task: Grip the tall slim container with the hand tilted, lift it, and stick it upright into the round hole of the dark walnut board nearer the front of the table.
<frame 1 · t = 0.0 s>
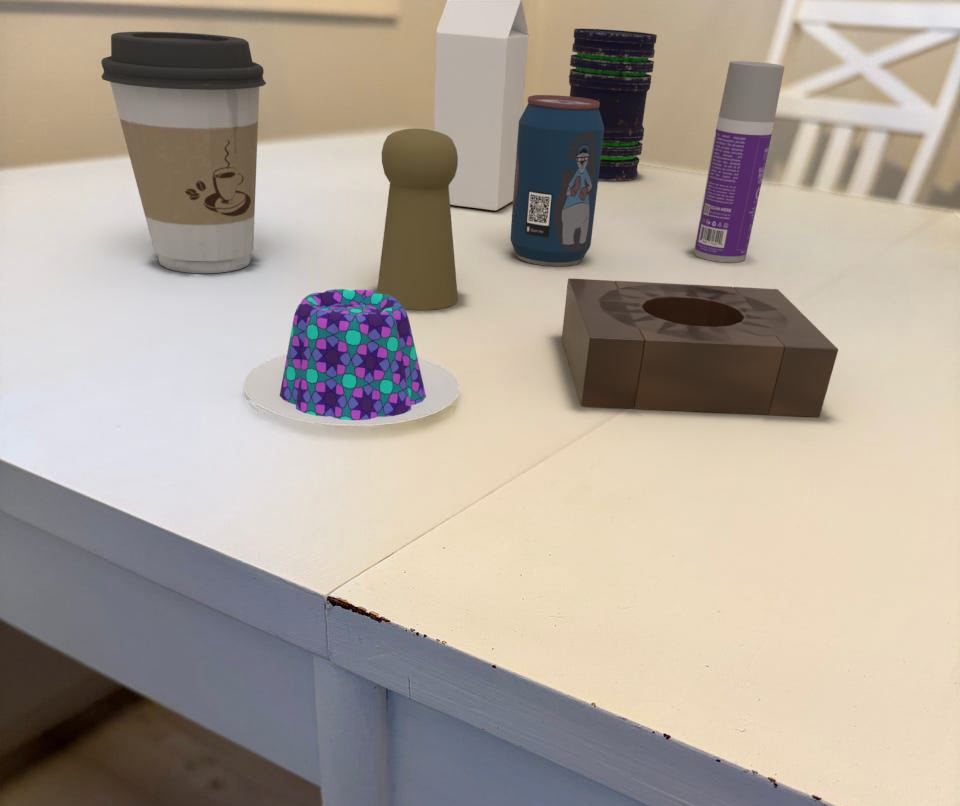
pudding: (353, 399, 53), on the table
milk carton: (474, 204, 99), on the table
socket board: (680, 375, 59), on the table
soda can: (548, 260, 81), on the table
black striped cylinder: (598, 175, 118), on the table
coffee cup: (205, 264, 74), on the table
cork: (417, 300, 70), on the table
container: (719, 258, 86), on the table
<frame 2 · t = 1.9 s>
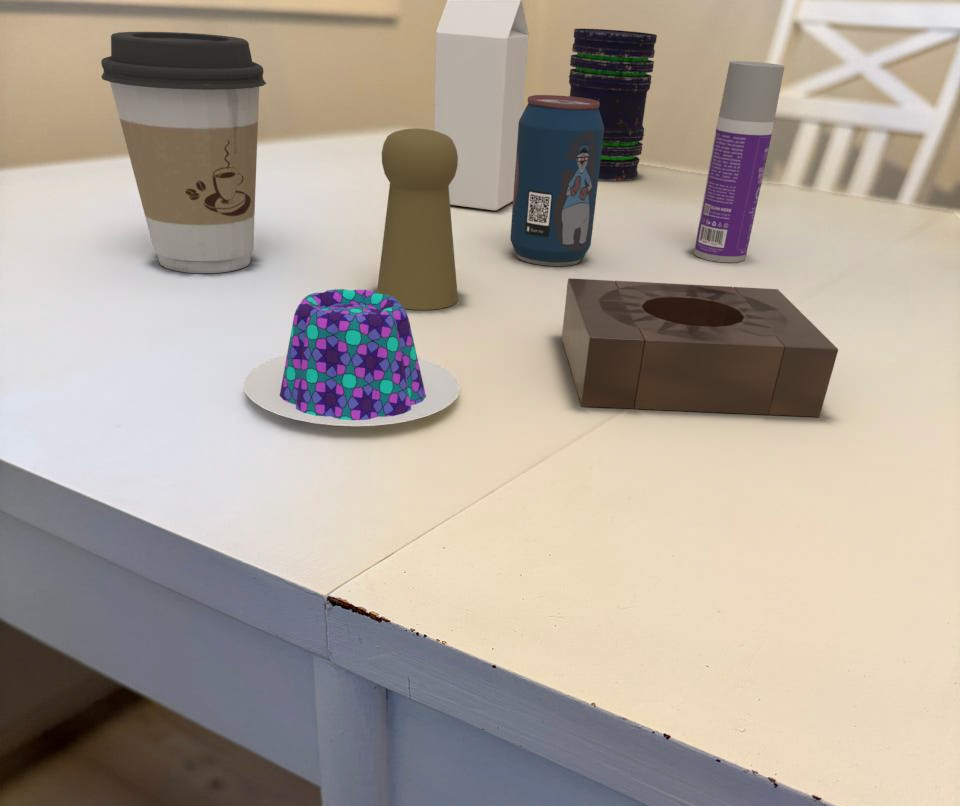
nothing on the table moved.
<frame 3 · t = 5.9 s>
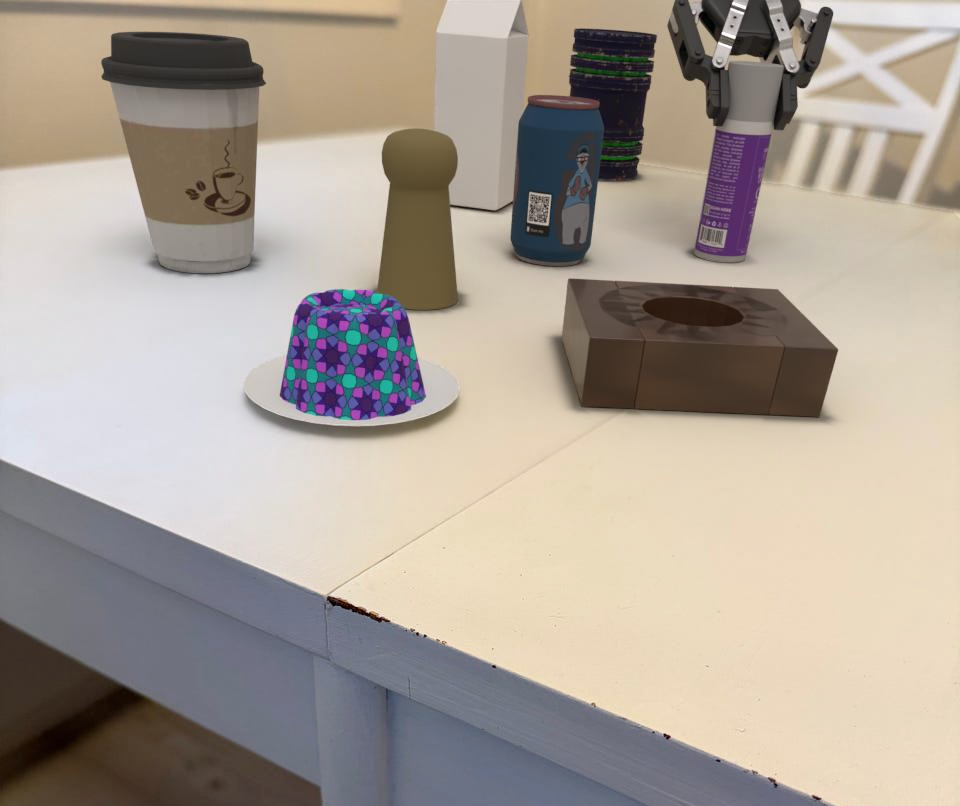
hand: (752, 120, 77), 11 cm above the table, tool tilted 45°, fingers closed on container, 4 cm apart
container: (719, 258, 86), on the table, touching gripper
everything else where it was.
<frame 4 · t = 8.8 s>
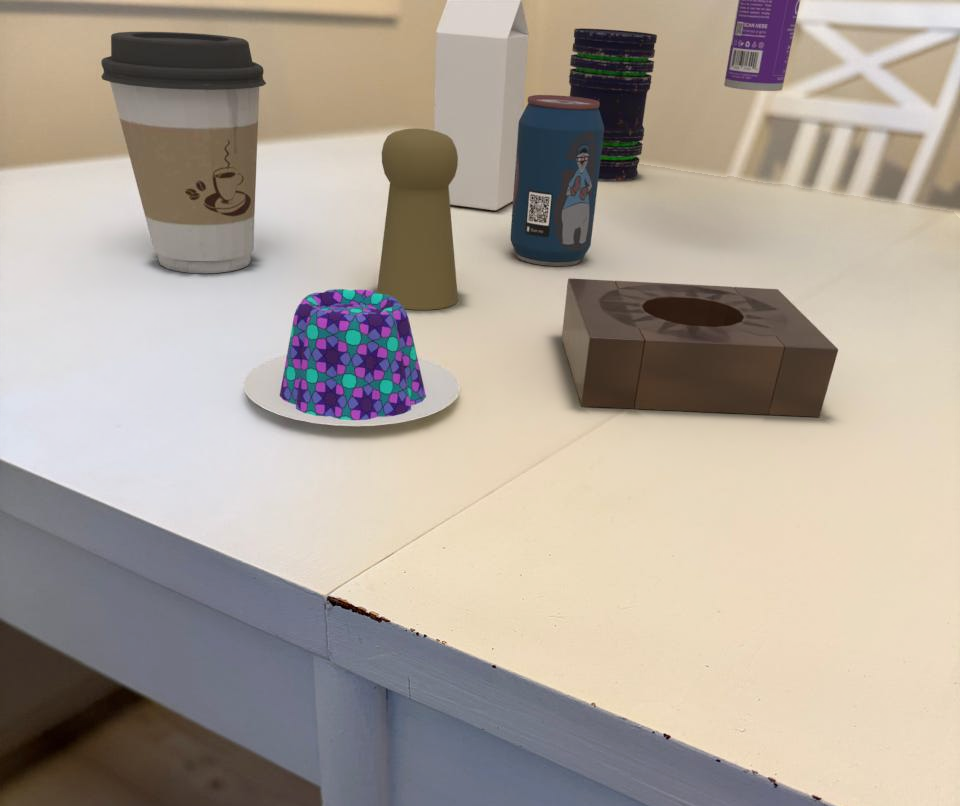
container: (752, 90, 77), point 13 cm above the table, touching gripper
everything else where it was.
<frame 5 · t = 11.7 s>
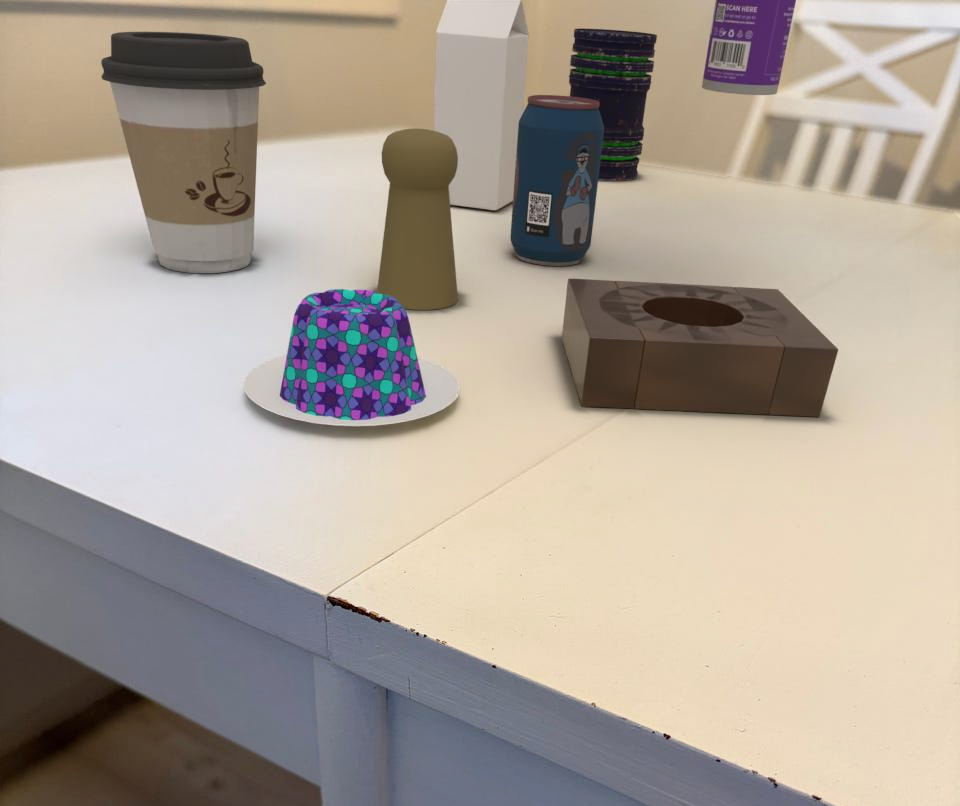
container: (738, 94, 59), point 15 cm above the table, touching gripper
everything else where it was.
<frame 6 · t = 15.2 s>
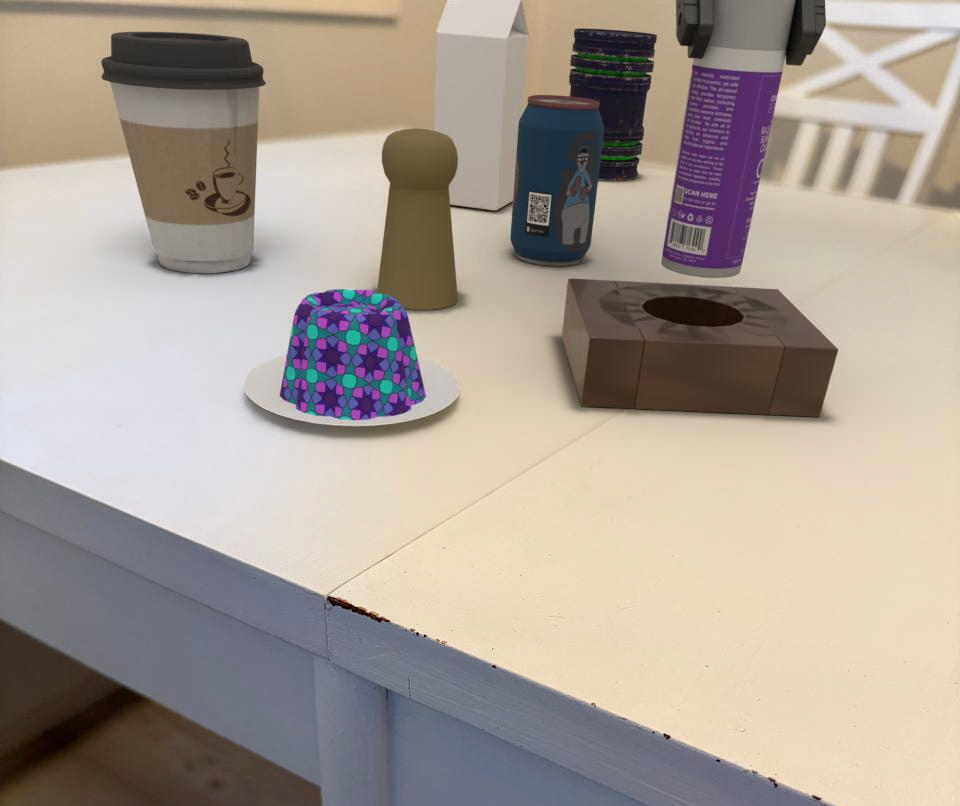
hand: (751, 48, 47), 18 cm above the table, tool tilted 45°, fingers closed on container, 4 cm apart
container: (699, 270, 55), point 6 cm above the table, touching gripper
everything else where it was.
when the fingers open (11 cm above the table, at t = 17.7 s): container stays where it is, resting in socket board.
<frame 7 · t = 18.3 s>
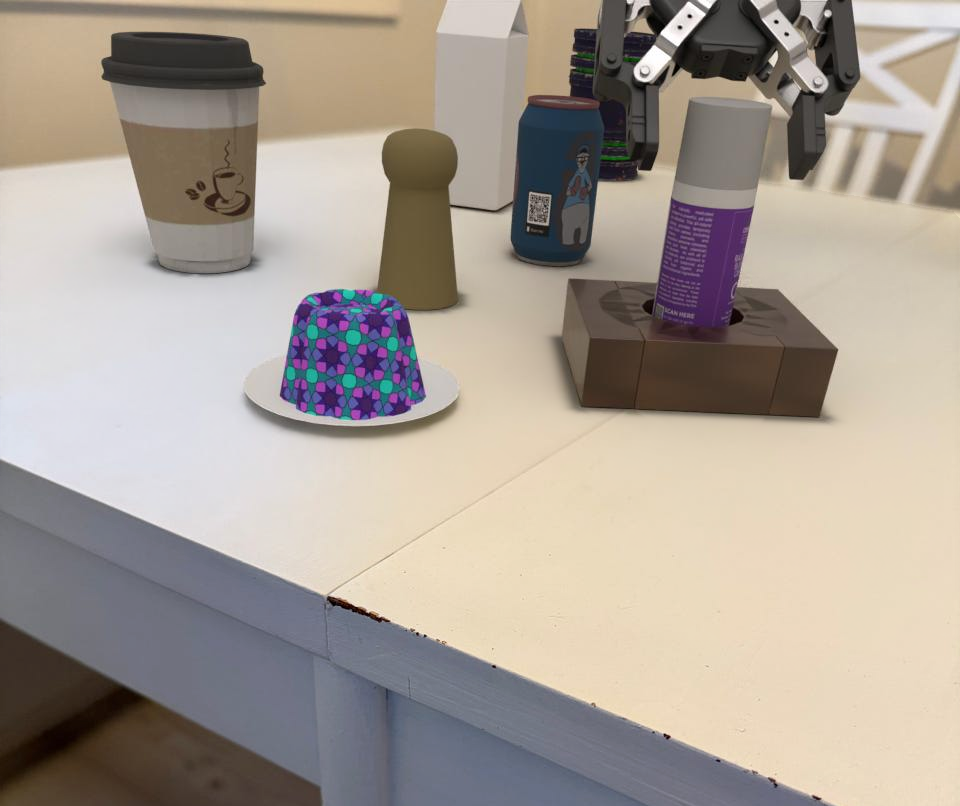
hand: (726, 166, 51), 12 cm above the table, tool tilted 45°, fingers open, 8 cm apart
container: (679, 377, 59), resting in socket board
everything else where it was.
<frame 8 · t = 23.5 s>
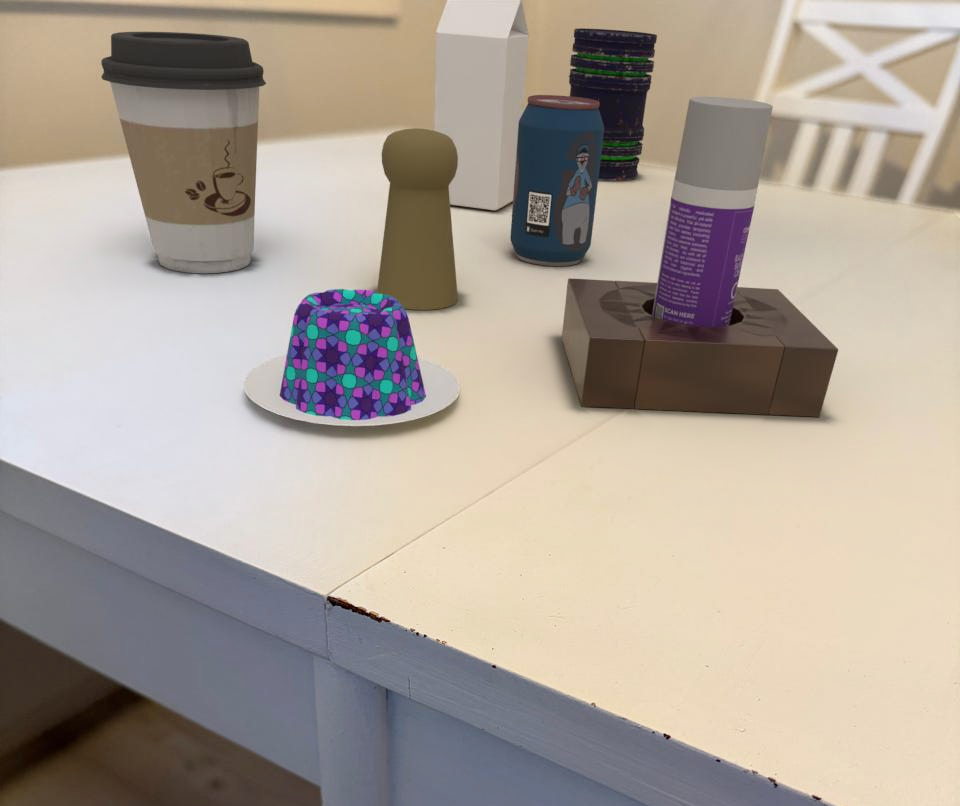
nothing on the table moved.
at the end: container 0.1 cm off-centre in the socket board, point 0.0 cm above the socket board's base; container tilted 0°; the gripper is holding nothing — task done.
